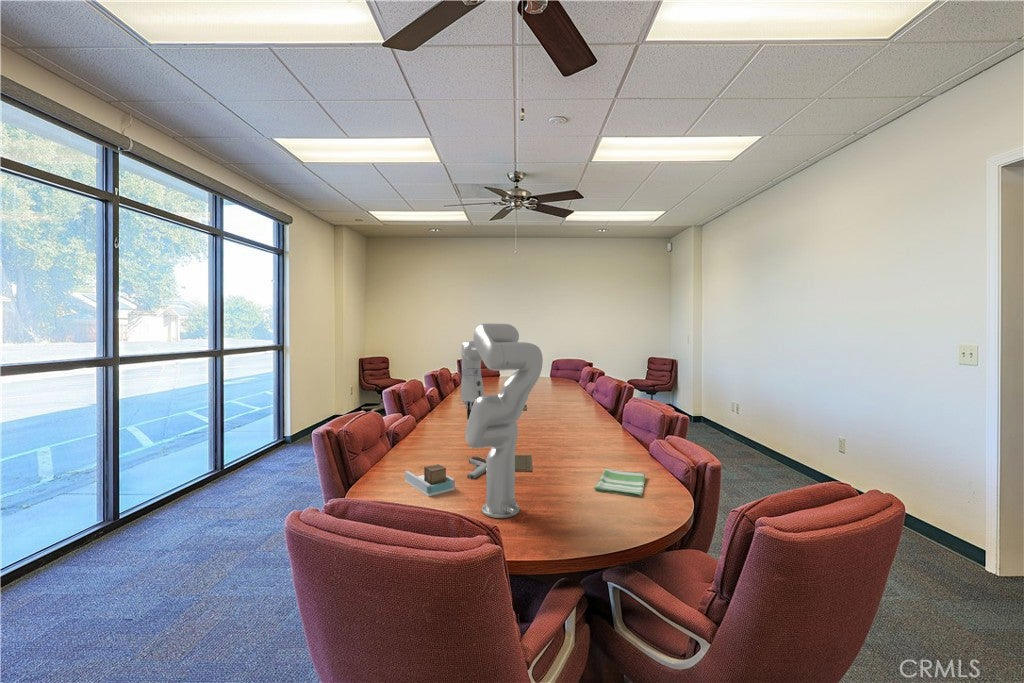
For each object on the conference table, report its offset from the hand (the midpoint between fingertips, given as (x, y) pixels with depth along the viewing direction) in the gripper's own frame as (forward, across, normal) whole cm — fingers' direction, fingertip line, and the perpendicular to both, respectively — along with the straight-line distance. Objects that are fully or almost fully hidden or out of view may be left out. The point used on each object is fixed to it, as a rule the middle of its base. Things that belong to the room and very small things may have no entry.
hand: (471, 419), depth 172 cm
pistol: (+26, +15, -12) cm, 32 cm away
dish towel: (+27, -37, -46) cm, 65 cm away
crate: (+24, +4, +14) cm, 28 cm away
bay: (+25, +9, +14) cm, 30 cm away
